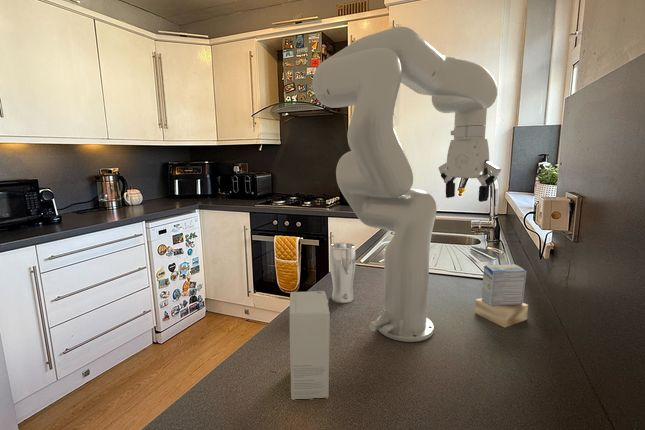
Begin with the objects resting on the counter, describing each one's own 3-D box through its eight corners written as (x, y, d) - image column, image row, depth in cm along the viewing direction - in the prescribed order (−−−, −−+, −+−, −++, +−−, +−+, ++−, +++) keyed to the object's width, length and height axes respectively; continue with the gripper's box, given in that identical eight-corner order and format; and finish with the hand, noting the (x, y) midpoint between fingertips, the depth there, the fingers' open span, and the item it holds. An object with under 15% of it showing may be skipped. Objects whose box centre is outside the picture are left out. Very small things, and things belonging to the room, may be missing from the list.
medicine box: (512, 297, 86) (515, 263, 84) (523, 305, 81) (527, 270, 80) (480, 298, 85) (483, 264, 84) (490, 306, 81) (493, 271, 79)
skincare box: (291, 370, 64) (288, 290, 62) (327, 368, 65) (326, 289, 62) (290, 402, 56) (287, 312, 53) (331, 400, 57) (330, 310, 54)
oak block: (504, 328, 79) (506, 312, 78) (474, 314, 86) (475, 299, 85) (526, 320, 82) (528, 304, 82) (496, 307, 89) (497, 293, 89)
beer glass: (358, 295, 97) (359, 243, 94) (350, 305, 91) (350, 250, 88) (335, 292, 100) (335, 241, 97) (325, 301, 94) (325, 247, 91)
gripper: (432, 135, 95) (430, 197, 99) (494, 132, 82) (489, 204, 85) (449, 135, 100) (446, 194, 103) (510, 132, 86) (505, 201, 89)
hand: (465, 199), depth 94 cm, fingers open, 9 cm apart
